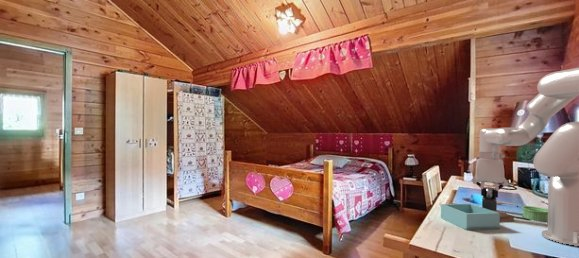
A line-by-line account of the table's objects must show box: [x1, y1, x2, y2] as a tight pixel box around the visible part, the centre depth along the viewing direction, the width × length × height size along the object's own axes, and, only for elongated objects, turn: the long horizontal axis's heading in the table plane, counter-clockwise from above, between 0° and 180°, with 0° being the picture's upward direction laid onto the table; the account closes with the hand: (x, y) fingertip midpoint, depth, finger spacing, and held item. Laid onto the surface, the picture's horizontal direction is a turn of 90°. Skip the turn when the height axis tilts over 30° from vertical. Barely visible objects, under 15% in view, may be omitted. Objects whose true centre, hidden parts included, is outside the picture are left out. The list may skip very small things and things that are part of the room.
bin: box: [440, 203, 501, 231], centre depth 110 cm, size 14×14×6 cm
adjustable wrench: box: [497, 200, 548, 210], centre depth 136 cm, size 25×6×2 cm, turn 43°
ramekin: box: [521, 205, 548, 223], centre depth 117 cm, size 9×9×4 cm
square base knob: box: [481, 186, 498, 211], centre depth 119 cm, size 5×5×9 cm
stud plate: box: [491, 210, 515, 222], centre depth 119 cm, size 12×12×5 cm
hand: (489, 197), depth 119 cm, fingers closed on square base knob, 3 cm apart
